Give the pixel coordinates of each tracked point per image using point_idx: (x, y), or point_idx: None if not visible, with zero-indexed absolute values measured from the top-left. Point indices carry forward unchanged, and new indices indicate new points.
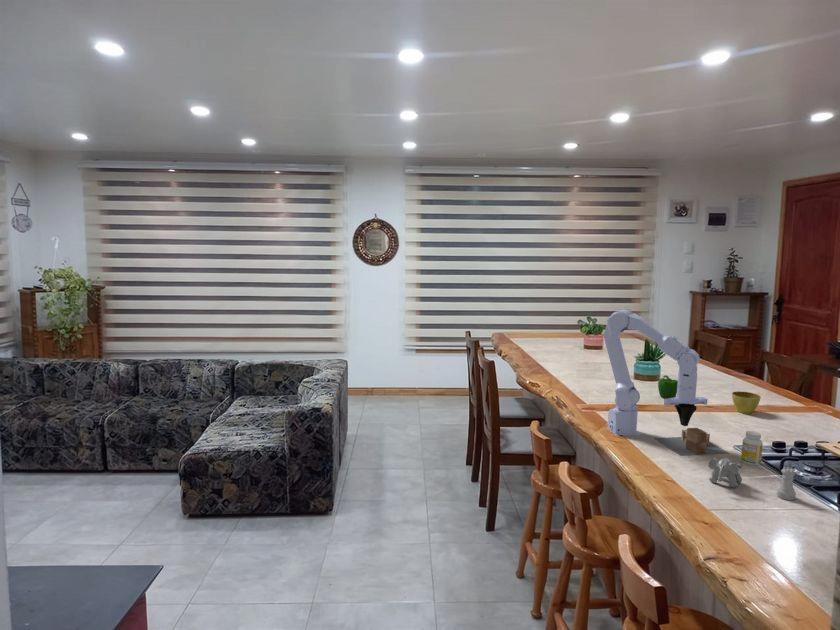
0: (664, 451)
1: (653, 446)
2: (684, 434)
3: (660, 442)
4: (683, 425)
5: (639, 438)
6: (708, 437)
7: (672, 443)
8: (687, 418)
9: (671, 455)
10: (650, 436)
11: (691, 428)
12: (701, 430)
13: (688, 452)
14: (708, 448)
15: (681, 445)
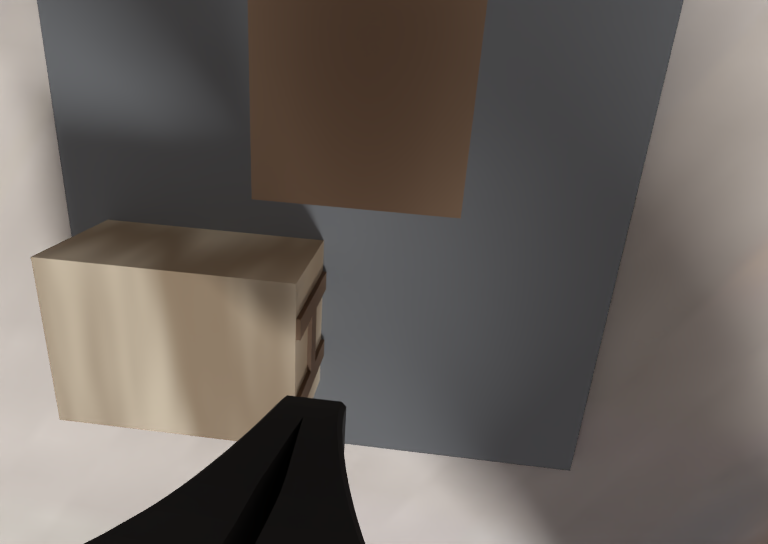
0: (733, 156)
1: (726, 311)
2: (306, 378)
3: (593, 363)
4: (344, 418)
5: (682, 508)
6: (76, 242)
7: (485, 314)
8: (270, 476)
9: (762, 17)
10: (536, 521)
11: (389, 181)
12: (265, 23)
13: (511, 28)
14: (190, 98)
15: (433, 243)
